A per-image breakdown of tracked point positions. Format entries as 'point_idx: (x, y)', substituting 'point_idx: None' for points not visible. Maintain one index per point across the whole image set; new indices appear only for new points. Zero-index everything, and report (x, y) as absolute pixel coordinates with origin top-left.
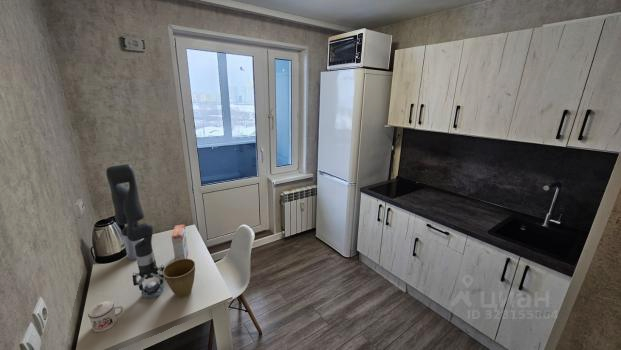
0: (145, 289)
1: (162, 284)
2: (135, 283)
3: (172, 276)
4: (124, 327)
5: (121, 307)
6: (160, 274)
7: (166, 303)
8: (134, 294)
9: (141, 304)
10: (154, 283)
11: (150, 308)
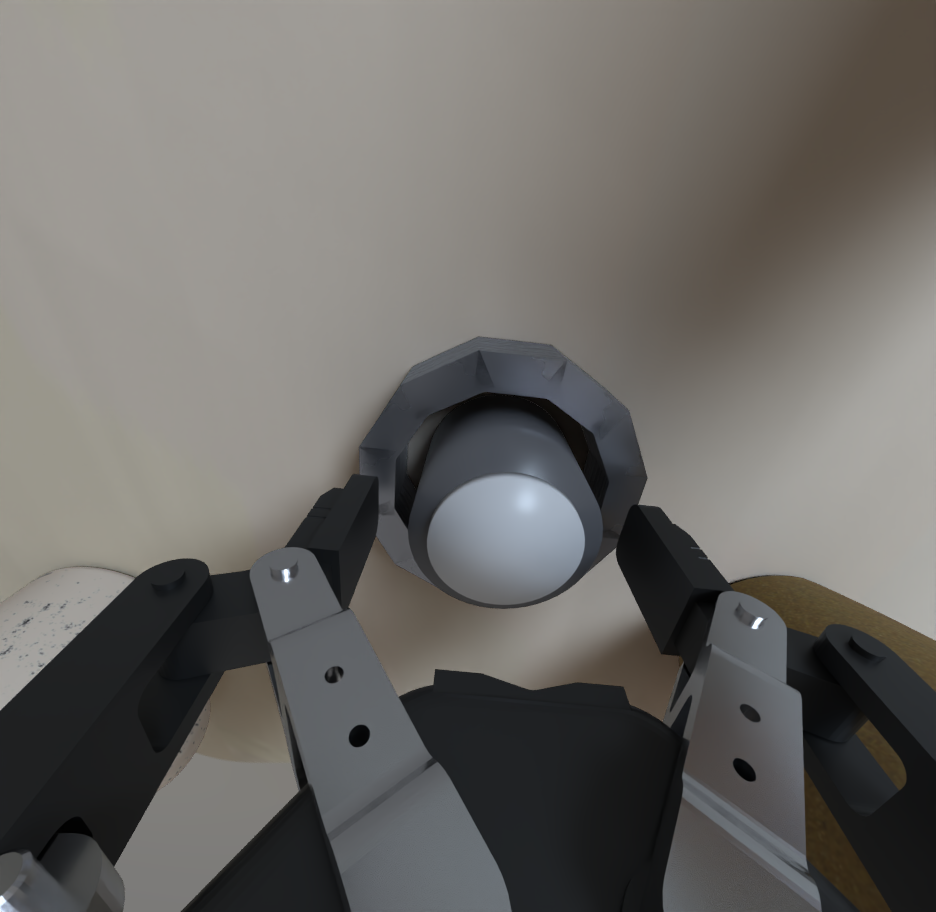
0: (411, 436)
1: (641, 488)
2: (189, 701)
3: (897, 778)
4: (277, 708)
5: (167, 783)
6: (775, 673)
7: (573, 664)
8: (276, 355)
9: (374, 569)
10: (553, 555)
11: (448, 648)
